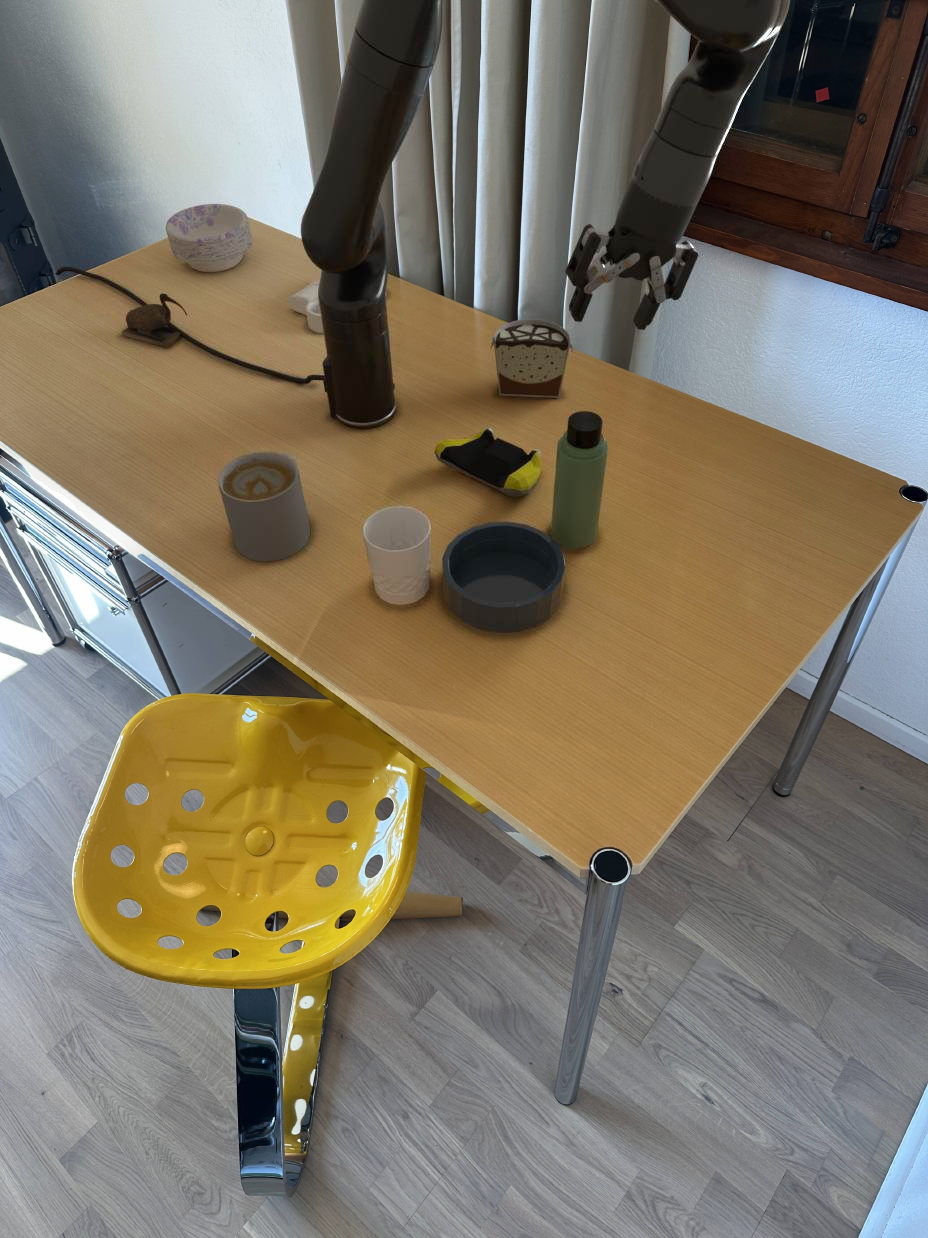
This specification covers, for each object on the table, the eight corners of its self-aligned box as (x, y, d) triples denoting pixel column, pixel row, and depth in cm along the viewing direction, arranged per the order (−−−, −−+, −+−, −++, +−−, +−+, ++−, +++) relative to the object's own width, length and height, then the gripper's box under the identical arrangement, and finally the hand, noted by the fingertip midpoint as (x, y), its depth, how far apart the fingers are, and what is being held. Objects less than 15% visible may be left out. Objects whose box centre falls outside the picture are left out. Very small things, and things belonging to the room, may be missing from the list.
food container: (569, 376, 139) (574, 318, 132) (569, 398, 135) (574, 339, 128) (492, 373, 140) (493, 315, 133) (489, 394, 136) (490, 336, 129)
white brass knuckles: (342, 276, 163) (404, 297, 157) (276, 317, 153) (340, 341, 148) (340, 258, 161) (403, 279, 155) (273, 299, 151) (338, 323, 145)
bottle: (546, 547, 113) (554, 432, 99) (555, 517, 117) (564, 402, 103) (592, 555, 112) (607, 439, 98) (599, 524, 116) (615, 409, 102)
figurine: (204, 340, 148) (191, 292, 142) (188, 353, 146) (174, 305, 139) (139, 323, 153) (124, 276, 146) (122, 336, 150) (106, 288, 143)
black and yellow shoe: (515, 518, 117) (557, 481, 122) (516, 486, 112) (560, 448, 118) (429, 476, 123) (472, 441, 128) (427, 444, 119) (472, 410, 124)
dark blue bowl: (429, 622, 104) (427, 593, 101) (461, 542, 114) (460, 513, 110) (548, 646, 102) (551, 617, 98) (571, 561, 111) (575, 532, 107)
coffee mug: (281, 571, 111) (266, 510, 103) (219, 546, 114) (200, 486, 106) (339, 509, 118) (329, 449, 111) (279, 488, 122) (266, 428, 114)
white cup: (370, 567, 111) (362, 507, 103) (432, 563, 111) (428, 503, 104) (371, 613, 105) (362, 553, 98) (436, 608, 106) (432, 548, 98)
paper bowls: (220, 287, 161) (209, 244, 155) (159, 268, 166) (147, 227, 160) (272, 253, 170) (264, 212, 164) (212, 237, 175) (203, 196, 169)
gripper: (620, 191, 87) (563, 334, 98) (737, 212, 92) (670, 346, 103) (595, 157, 91) (543, 297, 103) (708, 179, 96) (647, 311, 108)
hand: (607, 322), depth 103 cm, fingers open, 8 cm apart
